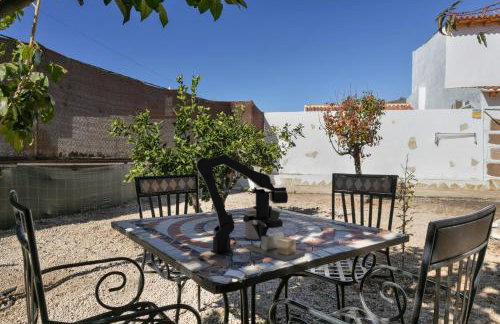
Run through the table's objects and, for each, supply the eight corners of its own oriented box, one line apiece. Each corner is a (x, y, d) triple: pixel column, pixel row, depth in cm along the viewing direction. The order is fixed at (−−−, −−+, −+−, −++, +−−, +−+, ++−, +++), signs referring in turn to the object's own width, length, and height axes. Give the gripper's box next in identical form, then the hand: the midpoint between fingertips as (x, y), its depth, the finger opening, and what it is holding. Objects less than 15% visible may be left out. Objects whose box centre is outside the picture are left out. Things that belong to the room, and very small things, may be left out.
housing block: (286, 254, 136) (286, 241, 136) (277, 252, 140) (277, 239, 140) (295, 252, 139) (295, 239, 139) (286, 249, 143) (286, 237, 143)
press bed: (285, 261, 133) (285, 256, 133) (245, 249, 150) (245, 245, 150) (304, 255, 140) (304, 251, 140) (264, 244, 157) (264, 240, 157)
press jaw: (266, 250, 141) (266, 237, 141) (261, 248, 143) (261, 236, 143) (284, 245, 147) (284, 233, 147) (278, 244, 150) (278, 232, 150)
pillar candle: (255, 234, 178) (255, 203, 177) (270, 237, 171) (269, 205, 170) (241, 237, 171) (240, 206, 171) (255, 241, 164) (255, 208, 164)
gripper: (292, 204, 147) (292, 242, 148) (261, 200, 162) (261, 234, 162) (272, 207, 140) (272, 246, 141) (242, 202, 154) (242, 238, 155)
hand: (262, 241), depth 150 cm, fingers closed
